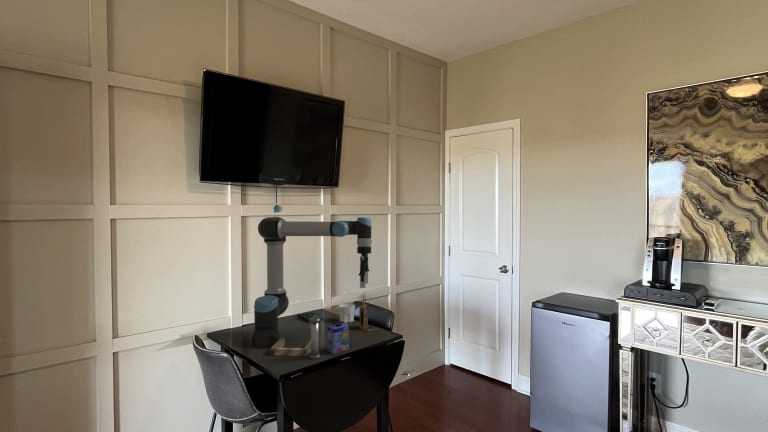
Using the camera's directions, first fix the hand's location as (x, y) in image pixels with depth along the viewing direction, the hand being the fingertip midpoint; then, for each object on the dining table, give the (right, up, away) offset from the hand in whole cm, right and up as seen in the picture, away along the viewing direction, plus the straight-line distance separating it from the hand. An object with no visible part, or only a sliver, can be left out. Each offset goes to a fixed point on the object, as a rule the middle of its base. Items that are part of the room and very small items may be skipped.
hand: (364, 285), depth 220 cm
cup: (-12, -28, +32) cm, 44 cm away
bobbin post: (-21, -28, -29) cm, 46 cm away
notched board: (-34, -28, -18) cm, 47 cm away
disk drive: (-36, -28, +38) cm, 60 cm away
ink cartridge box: (-12, -29, -20) cm, 37 cm away
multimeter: (+2, -28, +17) cm, 33 cm away
